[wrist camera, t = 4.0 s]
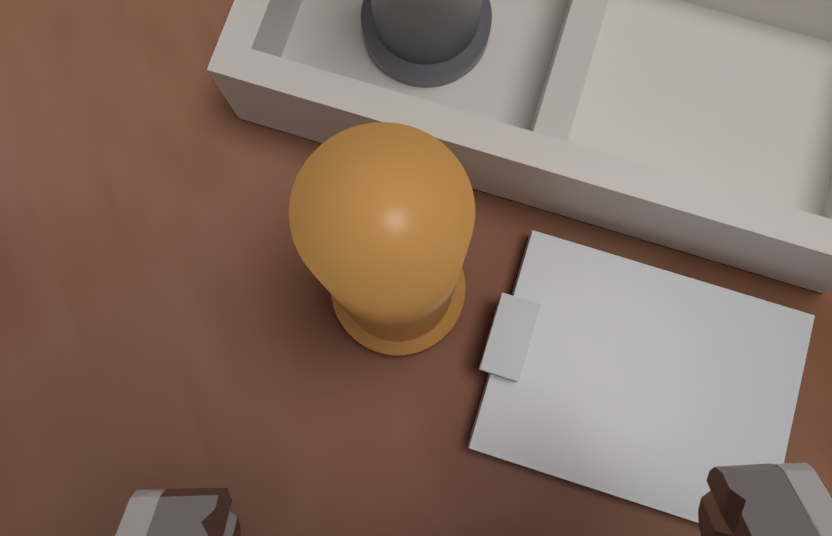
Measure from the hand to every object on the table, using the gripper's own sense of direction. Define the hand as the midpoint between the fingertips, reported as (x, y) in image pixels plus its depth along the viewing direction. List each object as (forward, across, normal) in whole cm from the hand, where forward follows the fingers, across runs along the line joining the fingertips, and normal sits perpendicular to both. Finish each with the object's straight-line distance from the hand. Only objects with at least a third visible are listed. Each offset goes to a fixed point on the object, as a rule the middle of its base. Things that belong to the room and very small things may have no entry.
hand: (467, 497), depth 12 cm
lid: (+8, +6, -6) cm, 12 cm away
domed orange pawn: (+10, -2, -3) cm, 11 cm away
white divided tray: (+15, +4, +2) cm, 16 cm away
